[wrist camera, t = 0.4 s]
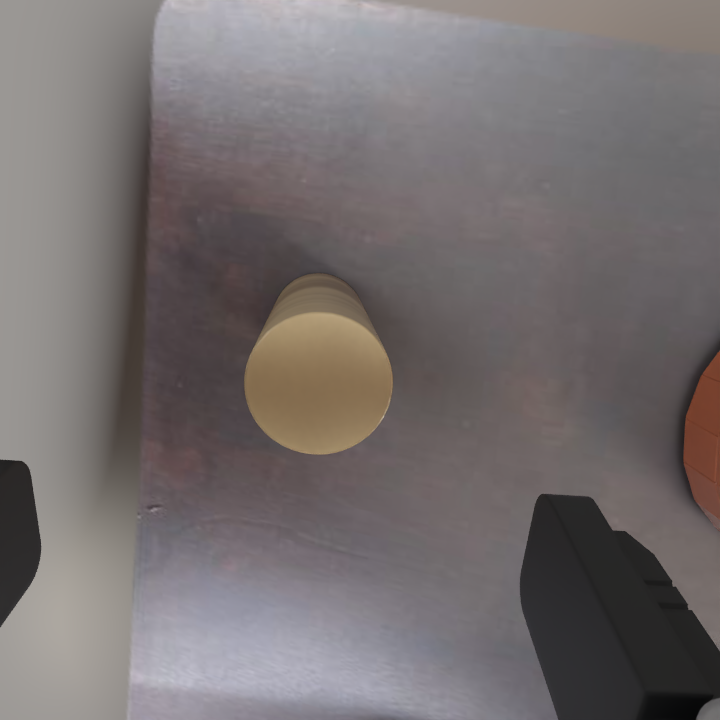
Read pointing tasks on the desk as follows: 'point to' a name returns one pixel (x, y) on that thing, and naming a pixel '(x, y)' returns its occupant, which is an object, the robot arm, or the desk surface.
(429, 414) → the desk surface
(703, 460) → the clay bowl
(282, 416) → the tan cylinder
